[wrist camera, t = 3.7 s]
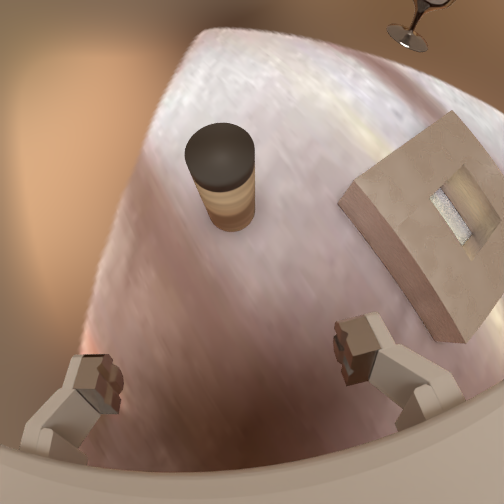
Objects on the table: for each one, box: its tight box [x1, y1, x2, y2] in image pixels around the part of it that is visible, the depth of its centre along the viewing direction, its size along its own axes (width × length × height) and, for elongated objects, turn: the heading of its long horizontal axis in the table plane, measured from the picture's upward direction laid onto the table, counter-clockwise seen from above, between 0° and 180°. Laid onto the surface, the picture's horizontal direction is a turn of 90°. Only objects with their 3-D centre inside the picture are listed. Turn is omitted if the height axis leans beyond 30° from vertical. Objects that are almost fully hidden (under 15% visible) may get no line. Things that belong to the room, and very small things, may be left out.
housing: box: [338, 110, 504, 344], centre depth 23 cm, size 16×16×5 cm
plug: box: [185, 123, 255, 232], centre depth 21 cm, size 4×4×10 cm
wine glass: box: [387, 0, 456, 52], centre depth 25 cm, size 8×8×15 cm
